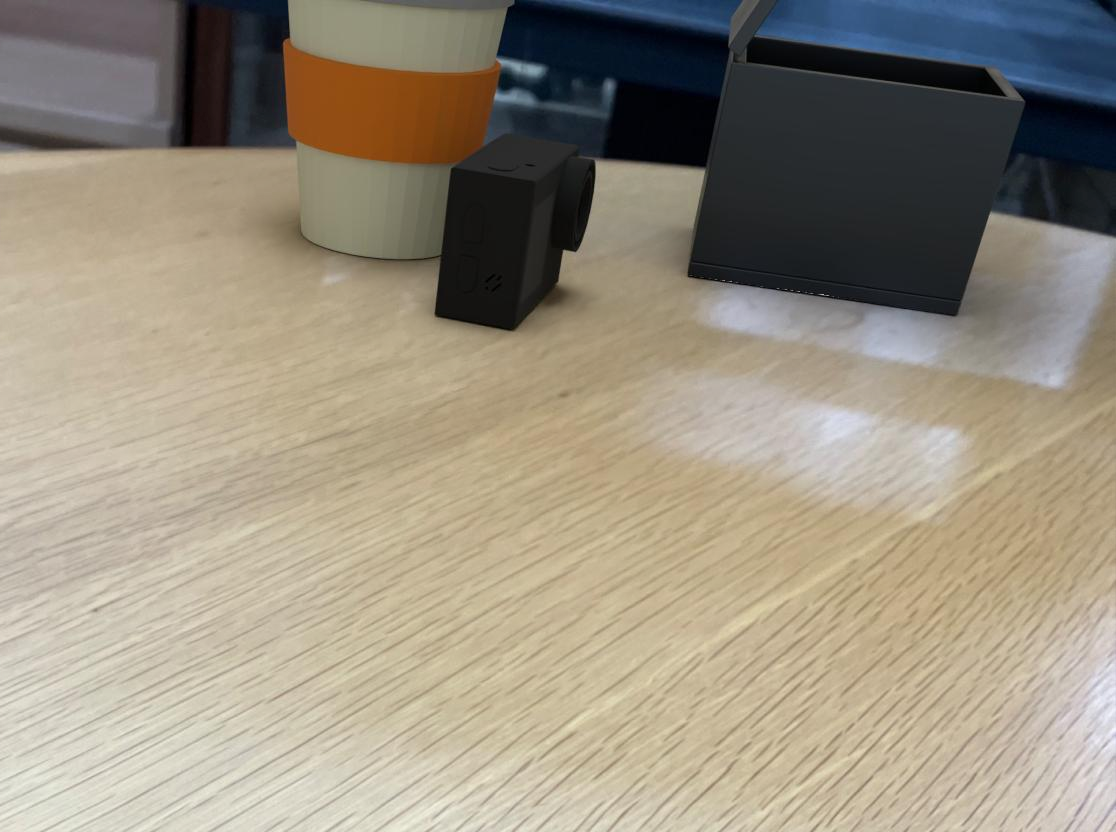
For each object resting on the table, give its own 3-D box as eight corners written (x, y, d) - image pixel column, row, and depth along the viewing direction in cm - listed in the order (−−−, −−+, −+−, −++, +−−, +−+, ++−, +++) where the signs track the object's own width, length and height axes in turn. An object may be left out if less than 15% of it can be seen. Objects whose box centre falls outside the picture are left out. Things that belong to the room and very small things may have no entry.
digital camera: (535, 336, 77) (559, 183, 73) (433, 316, 78) (450, 164, 74) (578, 287, 85) (602, 146, 80) (485, 270, 86) (504, 130, 81)
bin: (937, 262, 97) (996, 66, 90) (957, 316, 87) (1025, 101, 80) (693, 227, 98) (733, 32, 91) (686, 276, 89) (731, 62, 82)
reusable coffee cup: (423, 208, 96) (452, -82, 86) (522, 264, 87) (566, -50, 78) (237, 211, 91) (247, -95, 81) (323, 271, 83) (345, -63, 73)
